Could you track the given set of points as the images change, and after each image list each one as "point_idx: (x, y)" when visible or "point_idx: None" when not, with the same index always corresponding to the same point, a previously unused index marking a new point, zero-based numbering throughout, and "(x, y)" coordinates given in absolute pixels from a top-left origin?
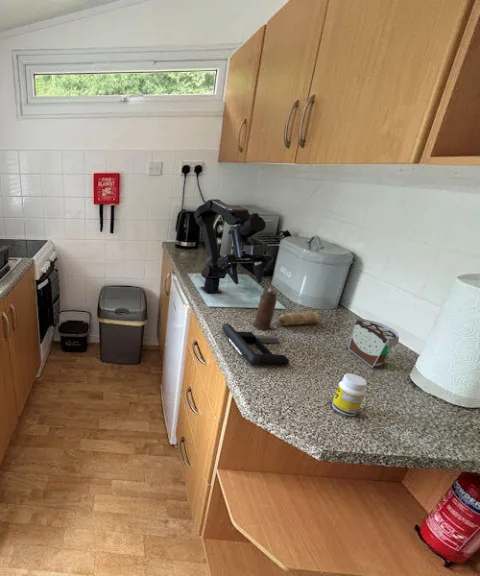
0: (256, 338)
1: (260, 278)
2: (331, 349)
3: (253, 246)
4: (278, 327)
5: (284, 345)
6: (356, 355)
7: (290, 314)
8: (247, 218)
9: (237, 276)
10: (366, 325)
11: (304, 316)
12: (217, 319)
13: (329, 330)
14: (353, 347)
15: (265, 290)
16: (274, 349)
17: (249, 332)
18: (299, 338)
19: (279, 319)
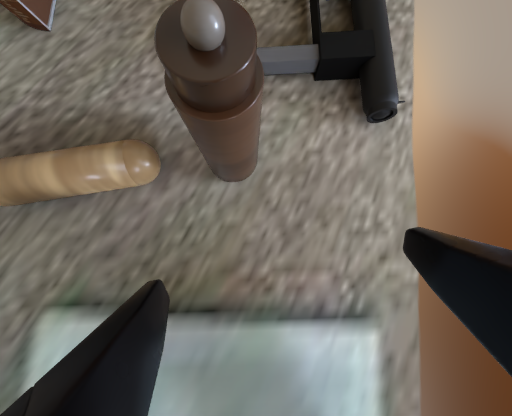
0: (320, 26)
1: (135, 309)
2: (100, 31)
3: None
4: (177, 152)
5: None
6: (55, 2)
7: (104, 155)
8: None
9: (494, 262)
10: None
11: (48, 152)
12: (371, 207)
13: (10, 133)
14: (37, 3)
15: (233, 57)
16: (265, 33)
17: (329, 55)
18: (153, 86)
19: (158, 162)
